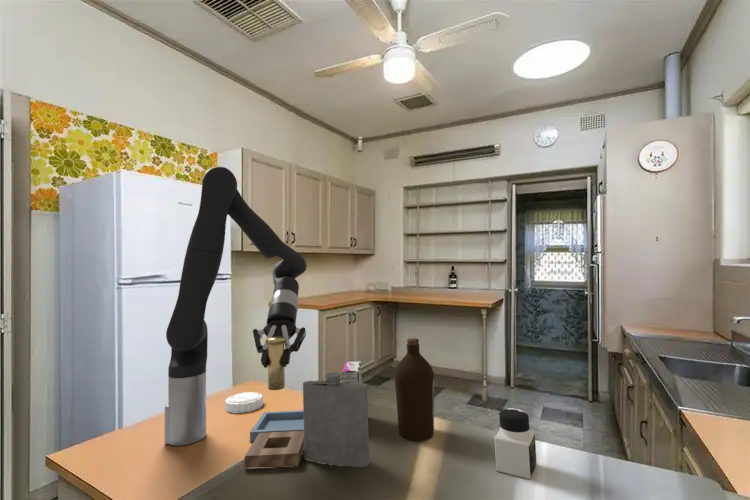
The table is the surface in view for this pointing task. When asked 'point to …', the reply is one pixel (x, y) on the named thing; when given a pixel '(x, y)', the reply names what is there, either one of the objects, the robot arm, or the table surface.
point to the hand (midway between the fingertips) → (274, 365)
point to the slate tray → (278, 423)
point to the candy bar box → (352, 372)
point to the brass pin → (276, 363)
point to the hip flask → (336, 422)
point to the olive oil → (415, 395)
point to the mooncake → (244, 402)
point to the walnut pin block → (276, 449)
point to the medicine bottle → (515, 444)
